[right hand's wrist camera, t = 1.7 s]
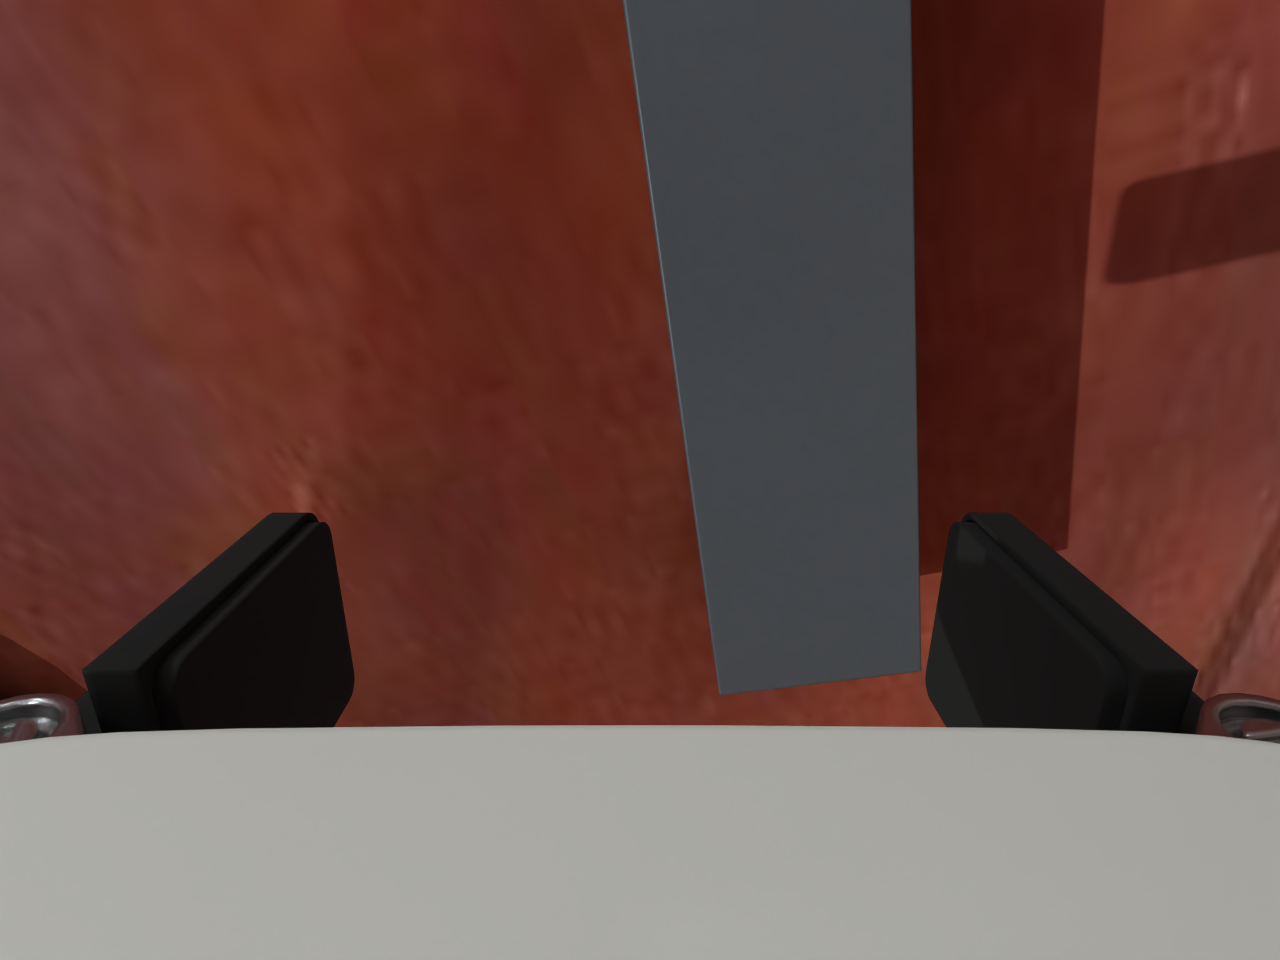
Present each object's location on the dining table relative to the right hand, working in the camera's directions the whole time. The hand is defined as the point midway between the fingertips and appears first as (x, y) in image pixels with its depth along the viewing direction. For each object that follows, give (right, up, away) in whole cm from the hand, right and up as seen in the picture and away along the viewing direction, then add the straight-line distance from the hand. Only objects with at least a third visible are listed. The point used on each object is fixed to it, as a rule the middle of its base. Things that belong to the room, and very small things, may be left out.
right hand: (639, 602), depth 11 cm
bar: (0, +35, +3) cm, 35 cm away
